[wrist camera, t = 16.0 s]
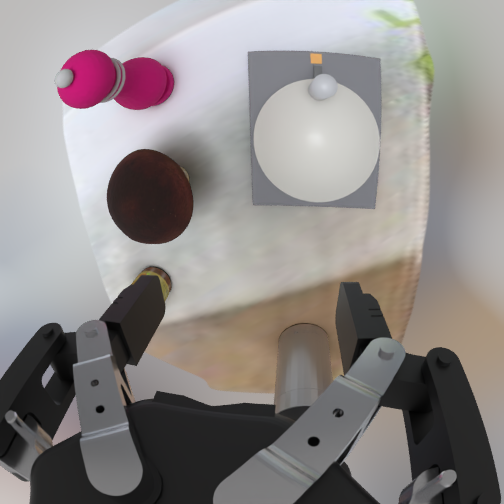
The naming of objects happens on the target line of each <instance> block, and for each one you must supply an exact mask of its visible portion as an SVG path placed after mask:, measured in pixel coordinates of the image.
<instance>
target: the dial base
mask: <svg viewBox="0 0 504 504" xmlns="http://www.w3.org/2000/svg"><path fill="white" fill-rule="evenodd" d="M313 66H322V74H328V75H330V76H332V77H333V78H334V79H335V80H336V82H337V83H338V84H341V85H343V86H345V87H347V88H349V89H350V90H352V91H353V92H354V93H356V94H357V95H358V96H359V97H360V98H361V99H362V100H363V101H364V102H365V103H366V105H367V106H368V107H369V109H370V110H371V112H372V114H373V116H374V118H375V120H376V123H377V126H378V130H379V136H380V138H381V66H380V59H378V58H371V57H365V56H357V55H349V54H339V53H327V52H310V51H254V52H248V70H249V100H250V130H251V162H252V193H253V205H283V206H320V207H346V208H366V209H375V203H376V194H377V183H378V171H379V157H380V149H379V155H378V159H377V163H376V165H375V167H374V170H373V171H372V173H371V175H370V176H369V178H368V179H367V180H366V182H365V183H364V184H363V185H362V186H361V187H360V188H358V189H357V190H356V191H354V192H353V193H351V194H349V195H348V196H345V197H343V198H341V199H338V200H334V201H329V202H308V201H304V200H300V199H297V198H294V197H292V196H290V195H288V194H286V193H284V192H283V191H281V190H280V189H279V188H277V187H276V186H275V185H274V184H273V183H272V182H271V181H270V180H269V179H268V178H267V176H266V175H265V173H264V172H263V171H262V169H261V167H260V165H259V163H258V160H257V157H256V154H255V149H254V140H253V139H254V128H255V123H256V120H257V117H258V115H259V113H260V111H261V109H262V107H263V106H264V104H265V103H266V101H267V100H268V99H269V98H270V97H271V96H272V95H273V94H274V93H276V92H277V91H278V90H280V89H281V88H283V87H284V86H286V85H289V84H291V83H293V82H297V81H300V80H306V79H314V67H313Z"/></svg>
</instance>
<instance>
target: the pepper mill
mask: <svg viewBox="0 0 504 504" xmlns="http://www.w3.org/2000/svg"><path fill="white" fill-rule="evenodd" d="M54 81H55V84H56V86H57V89H58V93H59V96H60V98H61V99H62V101H63V102H64V103H65V104H67V105H69V106H70V107H73V108H79V109H83V108H89V107H92V106H95V105H96V104H98V103H104V102H108V101H110V100H112V99H114V100H115V101H116V102H117V103H119V104H120V105H122V106H123V107H125V108H128V109H133V110H141V109H146V108H148V107H150V106H155V105H159V104H161V103H163V102H164V101H165V100H166V99H167V98H168V97H169V96H170V94H171V92H172V90H173V86H174V79H173V75H172V73H171V72H170V70H169V69H168V68H166V67H164V66H162V65H161V64H160V63H159V62H157V61H156V60H154V59H151V58H144V57H141V58H135V59H131V60H128V61H126V62H124V63H123V64H122V63H121V62H120V61H119V60H117V59H114V58H110V57H109V56H108V55H107V54H105V53H103V52H101V51H98V50H85V51H82V52H79V53H77V54H75V55H73V56H72V57H71V58H70V59H68V60H67V62H66V63H65V64H64V65H63V67H62V69H61V70H60V71H59V72H58V73H57V74H56V76H55V80H54Z"/></svg>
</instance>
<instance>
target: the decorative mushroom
mask: <svg viewBox="0 0 504 504" xmlns="http://www.w3.org/2000/svg"><path fill="white" fill-rule="evenodd" d="M107 204H108V209H109V213H110V215H111V217H112V219H113V221H114V222H115V224H116V225H117V226H118V228H119V229H120V230H121V231H122V232H123V233H124V234H125V235H126V236H128V237H129V238H130V239H132V240H134V241H137V242H140V243H145V244H162V243H167V242H169V241H172V240H173V239H175V238H177V237H178V236H179V235H181V234H182V233H183V231H184V230H185V229H186V227H187V226H188V224H189V222H190V220H191V217H192V212H193V195H192V190H191V187H190V183H189V175H188V173H187V172H186V170H185V169H184V168H183V167H180V166H179V165H178V164H177V163H176V162H175V161H174V160H172V159H171V158H169V157H168V156H166V155H165V154H162V153H160V152H158V151H155V150H150V149H141V150H136V151H134V152H132V153H130V154H129V155H127V156H126V157H125V158H124V159H123V160H122V161H121V162H120V163H119V164H118V165H117V167H116V168H115V170H114V172H113V174H112V176H111V178H110V181H109V185H108V189H107Z"/></svg>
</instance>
